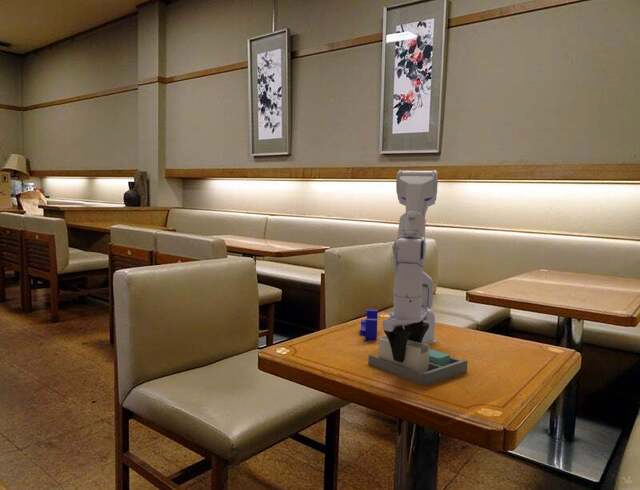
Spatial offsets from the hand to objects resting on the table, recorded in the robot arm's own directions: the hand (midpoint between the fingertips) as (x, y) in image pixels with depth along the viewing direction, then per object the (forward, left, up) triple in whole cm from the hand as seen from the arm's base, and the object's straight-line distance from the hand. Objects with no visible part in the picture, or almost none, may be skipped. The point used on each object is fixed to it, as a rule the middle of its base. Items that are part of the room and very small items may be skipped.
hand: (405, 358), depth 102 cm
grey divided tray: (-3, 0, -3) cm, 5 cm away
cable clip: (-14, -25, -4) cm, 29 cm away
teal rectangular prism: (-7, 0, -3) cm, 7 cm away
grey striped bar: (0, -1, -3) cm, 3 cm away
